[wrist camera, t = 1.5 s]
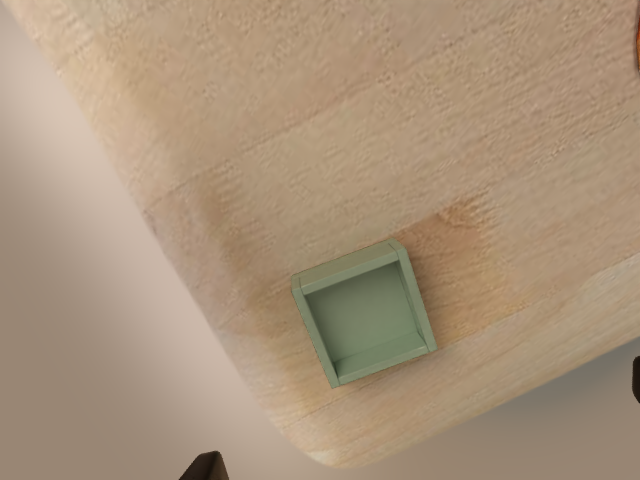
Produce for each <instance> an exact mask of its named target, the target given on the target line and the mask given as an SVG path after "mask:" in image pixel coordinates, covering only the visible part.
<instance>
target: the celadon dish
mask: <svg viewBox="0 0 640 480" xmlns="http://www.w3.org/2000/svg"><path fill="white" fill-rule="evenodd" d="M291 292H292V295H293V297H294V299H295V302H296V304H297V307H298V309H299V311H300V314H301V316H302V319H303V321H304V323H305V326H306V328H307V330H308V333H309V335H310V338H311V340H312V342H313V345H314V347H315V350H316V352H317V354H318V357H319V359H320V362H321V364H322V366H323V369H324V371H325V373H326V376H327V378H328V381H329V383H330V385H331V388H336V387H338V386H340V385H344V384H346V383H349V382H352V381H354V380H357V379H360V378H362V377H365V376H368V375H370V374H373V373H376V372H378V371H381V370H384V369H386V368H389V367H392V366H394V365H397V364H400V363H403V362H405V361H408V360H411V359H413V358H416V357H419V356H421V355H424V354H427V353H429V352H432V351H435V350H437V349H438V347H437V344H436V341H435V338H434V335H433V331H432V328H431V325H430V322H429V319H428V316H427V313H426V309H425V306H424V303H423V300H422V297H421V294H420V291H419V288H418V284H417V281H416V278H415V275H414V272H413V269H412V266H411V262H410V259H409V256H408V253H407V250H406V248H405V247H404V246H403V245H402V244H401V243H400V242H399V241H398V240H396V239H395V238H394V237H393V238H390V239H388V240H385V241H382V242H380V243H377V244H374V245H372V246H369V247H366V248H364V249H361V250H358V251H356V252H353V253H350V254H348V255H345V256H342V257H340V258H337V259H334V260H332V261H329V262H327V263H324V264H321V265H319V266H316V267H313V268H311V269H308V270H305V271H303V272H300V273H297V274H295V275H292V276H291Z"/></svg>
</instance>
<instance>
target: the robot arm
mask: <svg viewBox="0 0 640 480" xmlns="http://www.w3.org/2000/svg"><path fill="white" fill-rule="evenodd" d="M632 390H633V394H634V396H635V397H636V399H637V401H638V402H639V403H640V356H638V357H636V358H635V359H634V361H633V377H632ZM179 480H229V477H228V474H227V471H226V468H225V465H224V462H223V458H222V456H221V454H220V452H218V451H212V452H208V453H203V454H200V455H199V456H198V457H197V458H196V459H195V460H194V461H193V463H192V464H191V465H190V466H189V467H188V469H187V470H186V471H185V473H184V474H183V475H182V476H181V477H180V479H179Z"/></svg>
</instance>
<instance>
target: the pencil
mask: <svg viewBox="0 0 640 480" xmlns="http://www.w3.org/2000/svg"><path fill="white" fill-rule="evenodd" d="M636 42H637V56H638V65H639V72H640V17H639V25H638V33H637V40H636Z"/></svg>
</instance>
